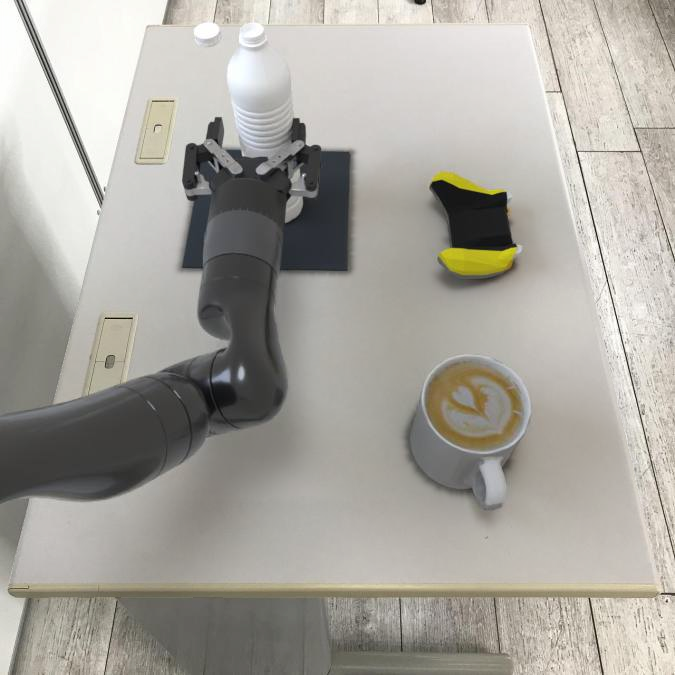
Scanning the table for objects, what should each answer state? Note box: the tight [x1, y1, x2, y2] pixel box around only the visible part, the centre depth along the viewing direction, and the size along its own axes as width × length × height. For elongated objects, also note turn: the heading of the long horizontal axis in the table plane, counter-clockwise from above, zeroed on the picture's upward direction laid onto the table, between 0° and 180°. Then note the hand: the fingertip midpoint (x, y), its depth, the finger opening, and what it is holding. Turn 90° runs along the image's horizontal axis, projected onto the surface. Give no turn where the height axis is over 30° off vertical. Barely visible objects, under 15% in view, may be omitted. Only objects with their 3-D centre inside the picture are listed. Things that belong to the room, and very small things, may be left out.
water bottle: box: [193, 22, 303, 223], centre depth 71 cm, size 9×6×25 cm
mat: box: [181, 149, 350, 272], centre depth 82 cm, size 20×20×1 cm
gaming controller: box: [429, 170, 523, 280], centre depth 77 cm, size 15×6×10 cm
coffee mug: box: [409, 353, 533, 512], centre depth 61 cm, size 13×10×10 cm
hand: (258, 123), depth 70 cm, fingers open, 8 cm apart
